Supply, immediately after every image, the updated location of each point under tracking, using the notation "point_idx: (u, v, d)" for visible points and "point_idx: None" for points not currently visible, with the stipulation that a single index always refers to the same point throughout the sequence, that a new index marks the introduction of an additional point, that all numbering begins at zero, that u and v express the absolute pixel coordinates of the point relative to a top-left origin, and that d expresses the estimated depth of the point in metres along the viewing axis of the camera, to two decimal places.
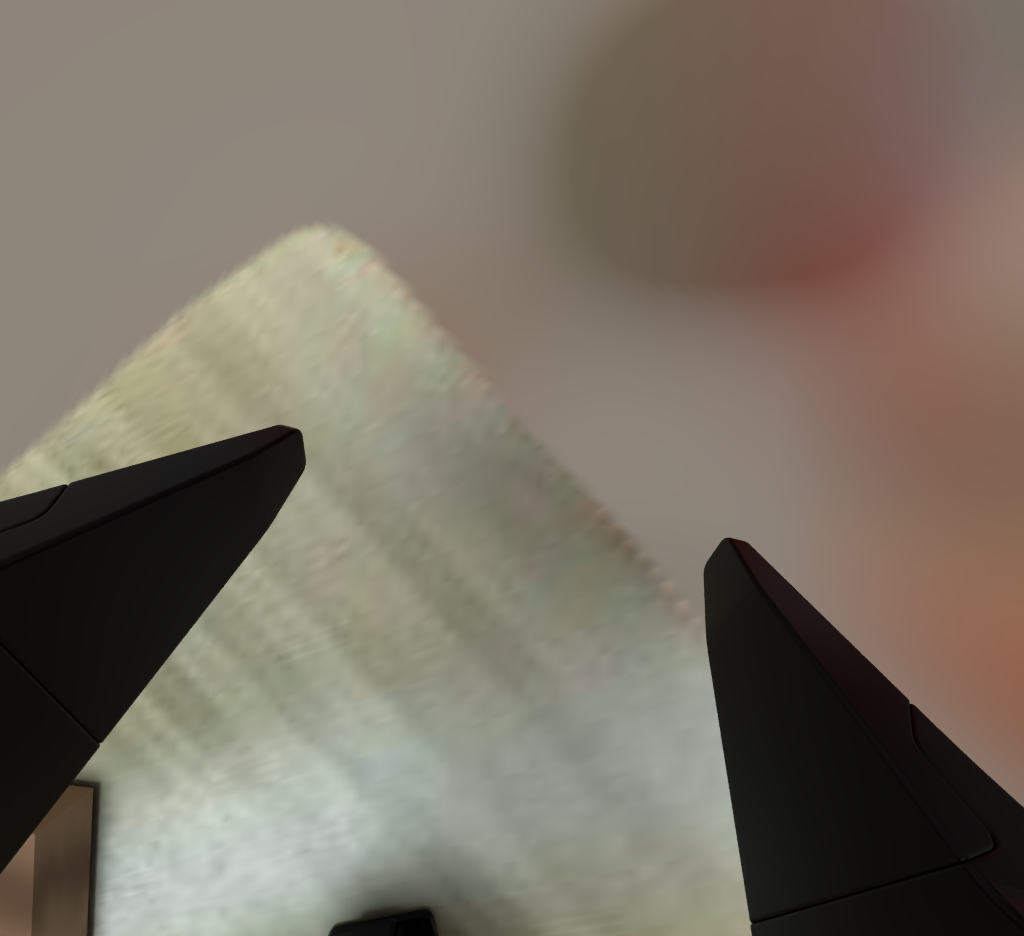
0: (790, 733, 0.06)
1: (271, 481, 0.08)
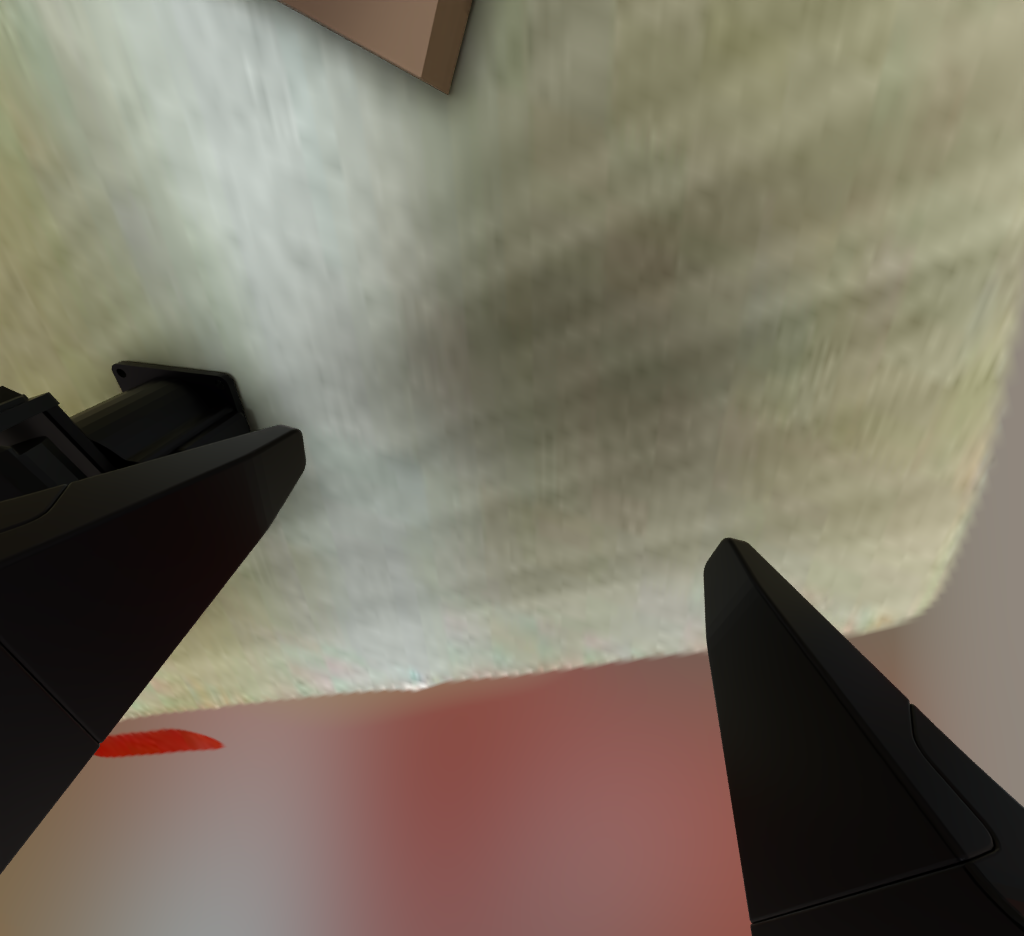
0: (790, 732, 0.06)
1: (271, 481, 0.08)
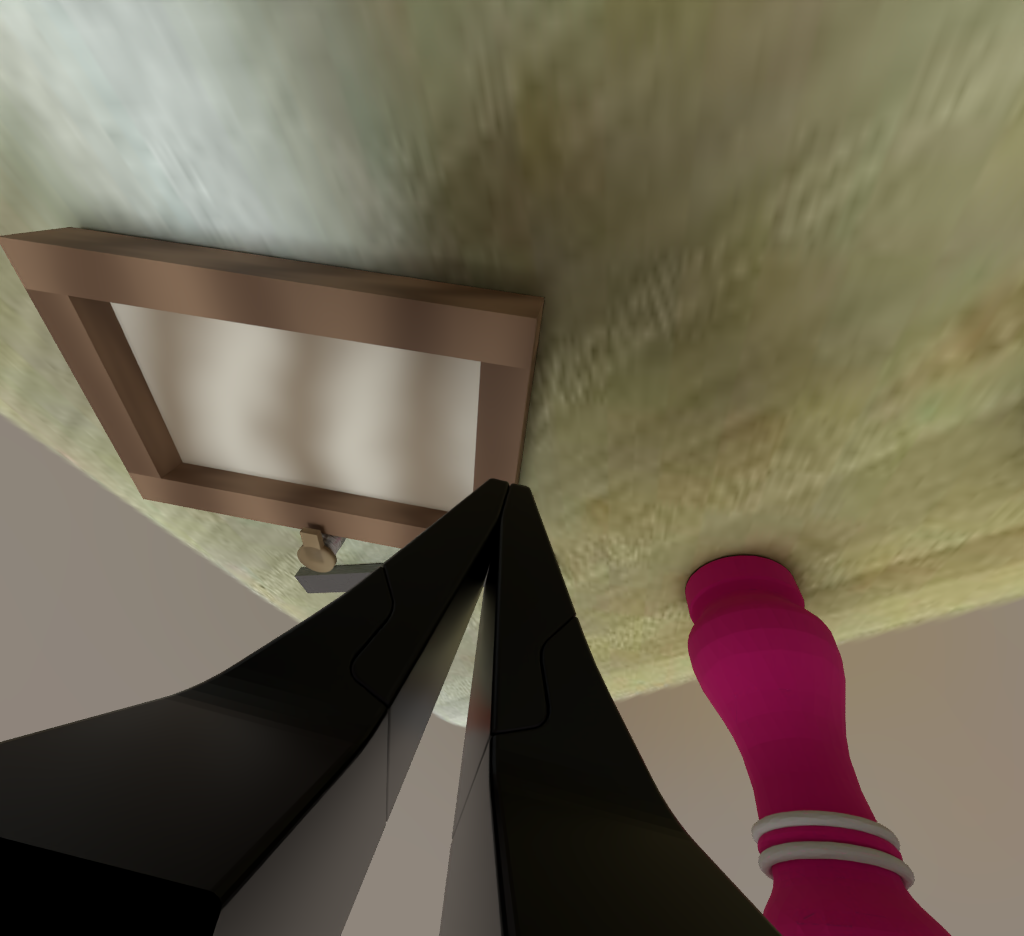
0: (483, 652, 0.06)
1: (495, 538, 0.08)
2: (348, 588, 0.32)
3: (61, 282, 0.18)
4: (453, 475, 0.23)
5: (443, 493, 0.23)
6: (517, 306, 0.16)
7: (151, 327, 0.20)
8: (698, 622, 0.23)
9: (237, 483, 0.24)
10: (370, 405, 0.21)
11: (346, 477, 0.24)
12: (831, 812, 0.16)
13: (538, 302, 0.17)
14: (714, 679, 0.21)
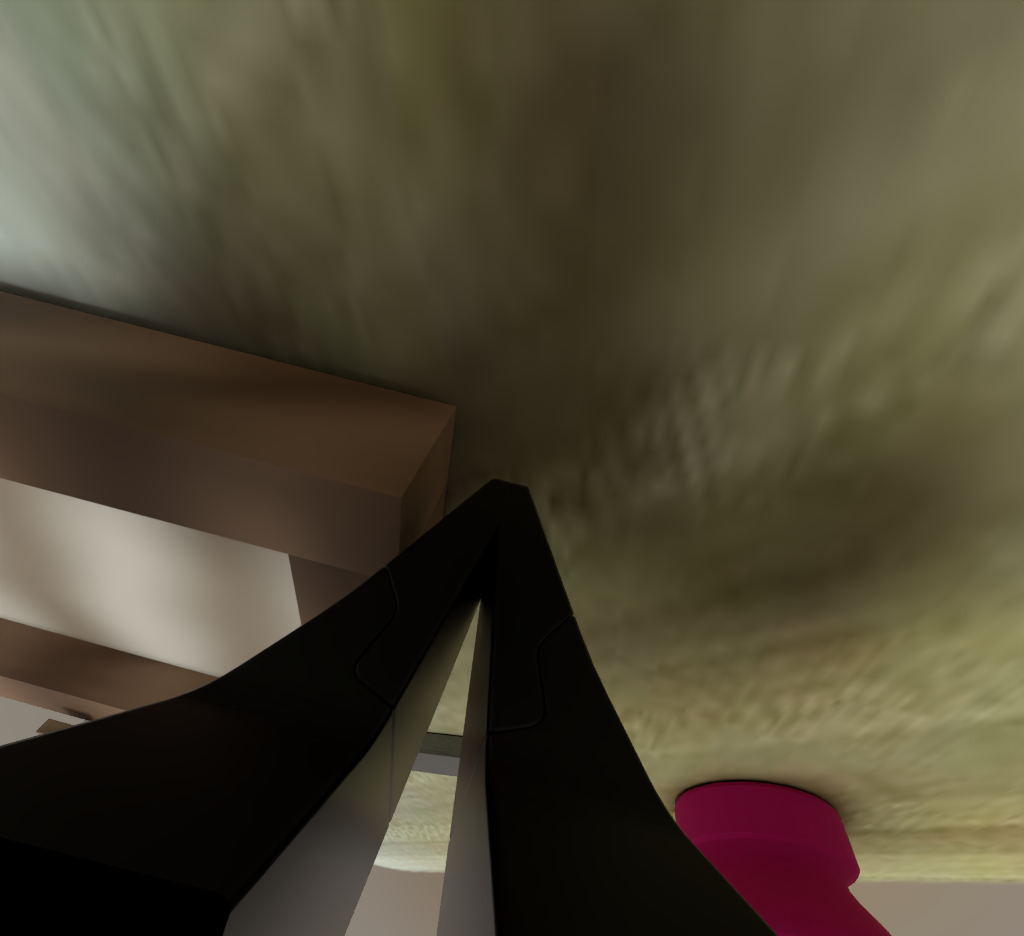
0: (481, 650, 0.06)
1: None
2: None
3: None
4: None
5: None
6: (375, 442, 0.07)
7: None
8: None
9: None
10: (136, 553, 0.11)
11: (131, 638, 0.14)
12: None
13: (434, 425, 0.08)
14: None
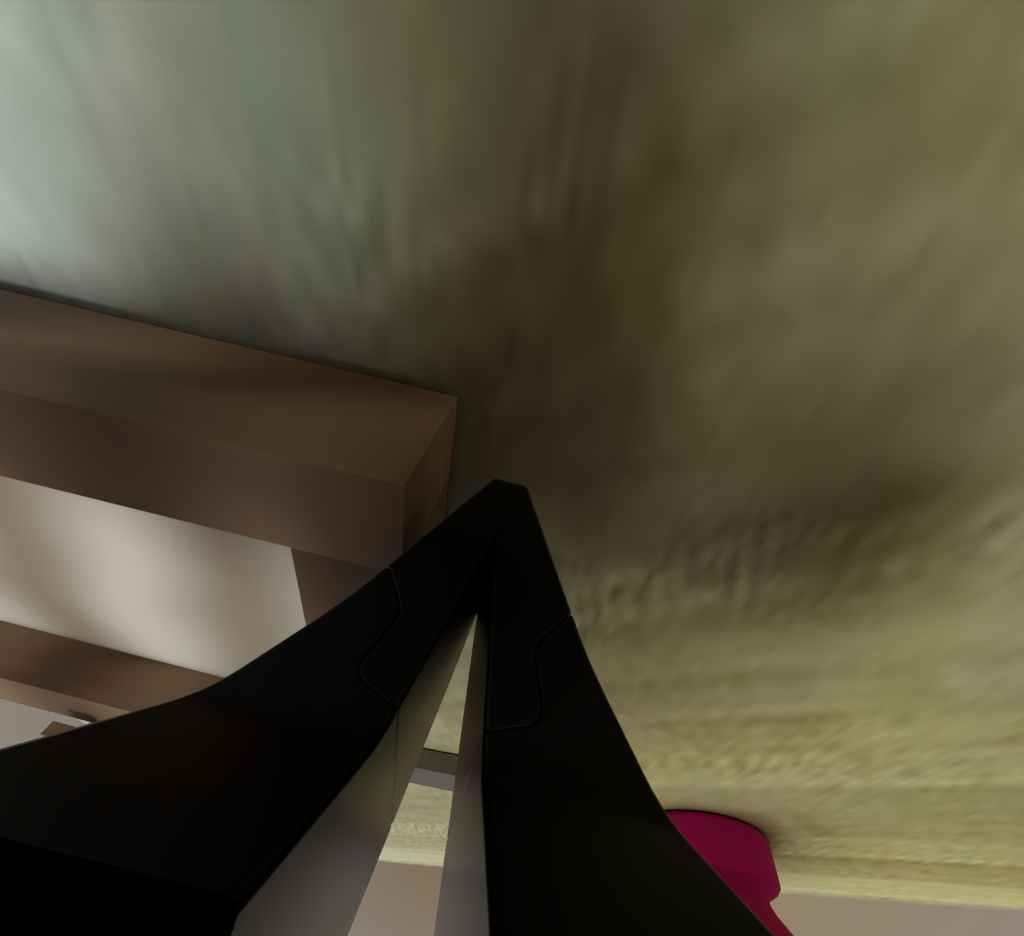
0: (478, 650, 0.06)
1: None
2: None
3: None
4: None
5: None
6: (377, 432, 0.07)
7: None
8: None
9: None
10: (137, 552, 0.11)
11: (134, 639, 0.14)
12: None
13: (436, 415, 0.08)
14: None
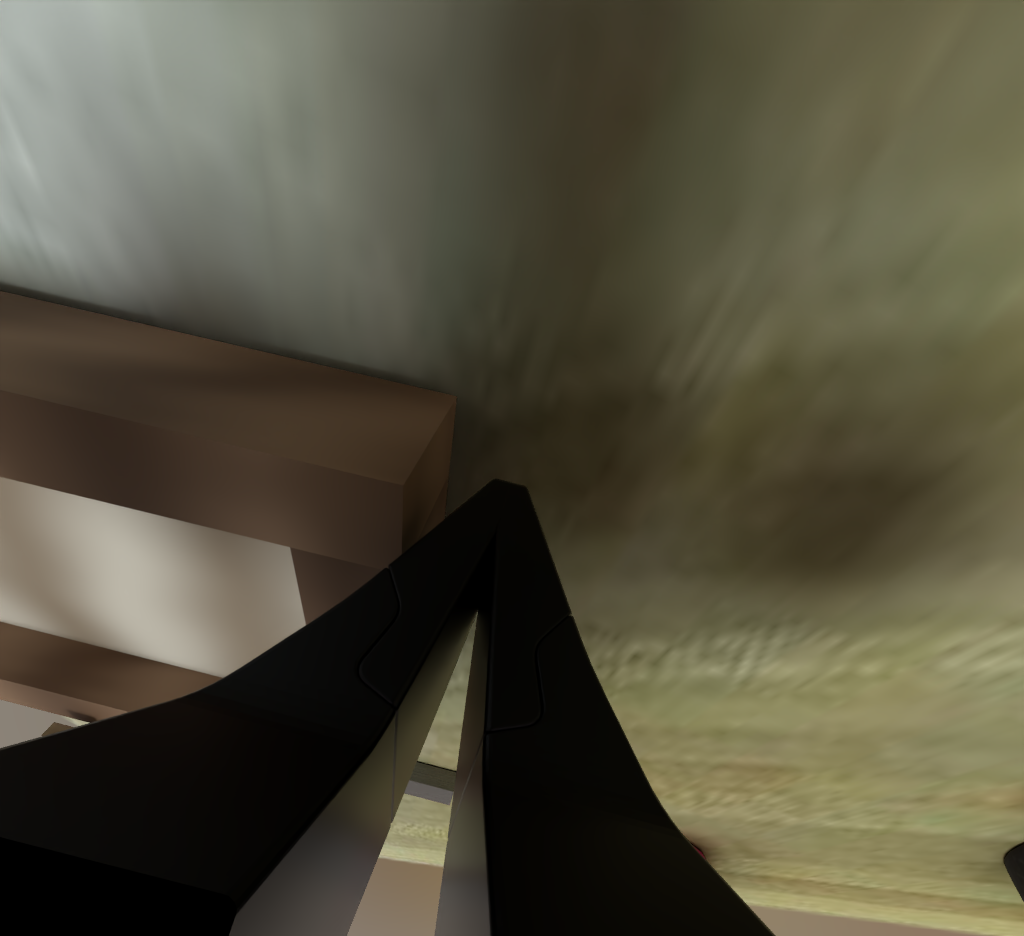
0: (479, 651, 0.06)
1: None
2: None
3: None
4: None
5: None
6: (376, 431, 0.07)
7: None
8: None
9: None
10: (138, 553, 0.11)
11: (135, 640, 0.14)
12: None
13: (435, 414, 0.08)
14: None
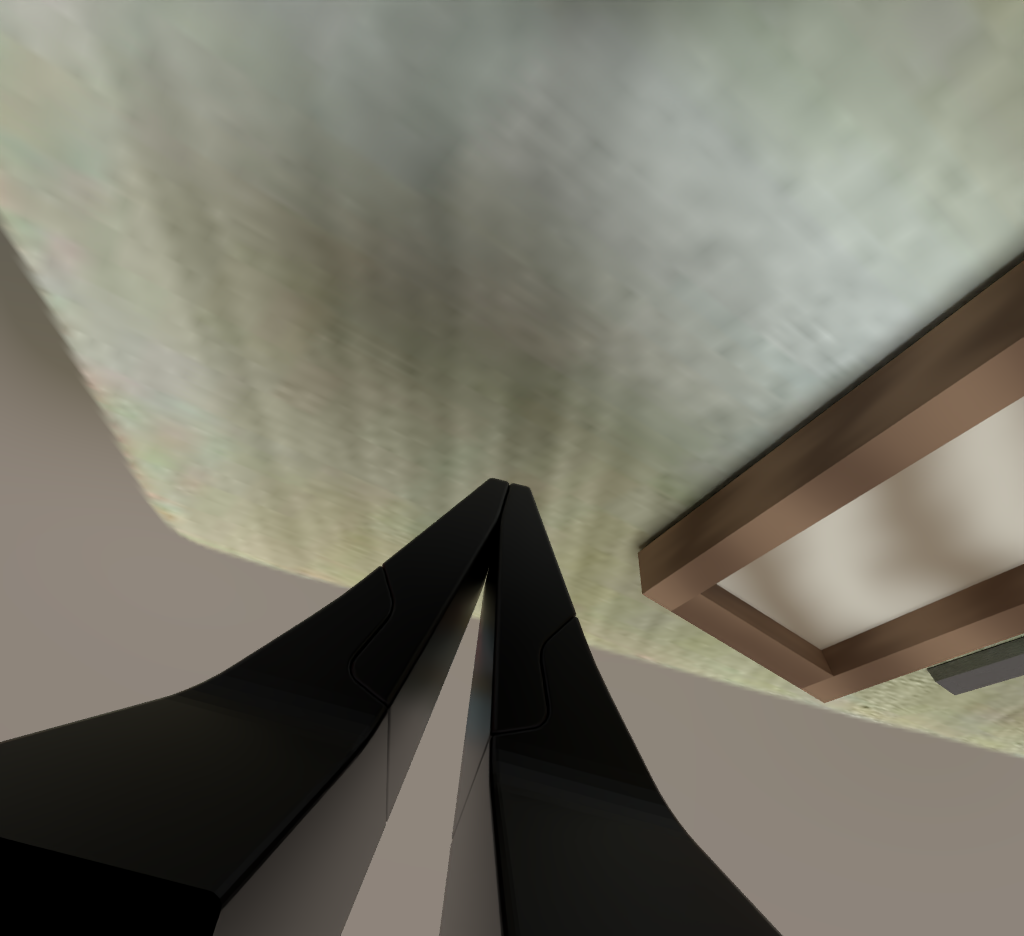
0: (483, 652, 0.06)
1: (495, 538, 0.08)
2: None
3: (692, 588, 0.21)
4: None
5: None
6: None
7: (741, 568, 0.22)
8: None
9: (903, 634, 0.22)
10: (1005, 458, 0.17)
11: (1021, 545, 0.19)
12: None
13: None
14: None
